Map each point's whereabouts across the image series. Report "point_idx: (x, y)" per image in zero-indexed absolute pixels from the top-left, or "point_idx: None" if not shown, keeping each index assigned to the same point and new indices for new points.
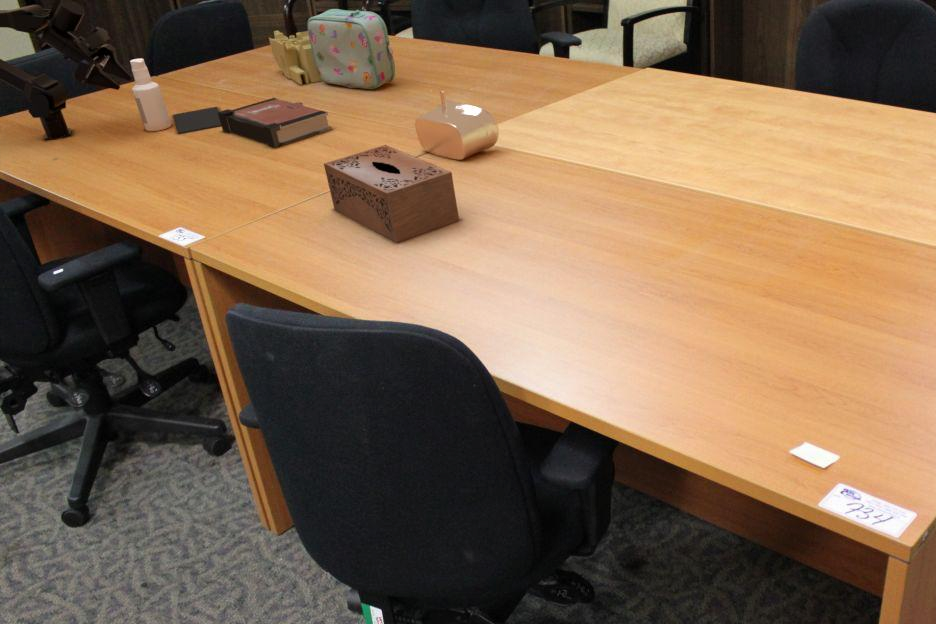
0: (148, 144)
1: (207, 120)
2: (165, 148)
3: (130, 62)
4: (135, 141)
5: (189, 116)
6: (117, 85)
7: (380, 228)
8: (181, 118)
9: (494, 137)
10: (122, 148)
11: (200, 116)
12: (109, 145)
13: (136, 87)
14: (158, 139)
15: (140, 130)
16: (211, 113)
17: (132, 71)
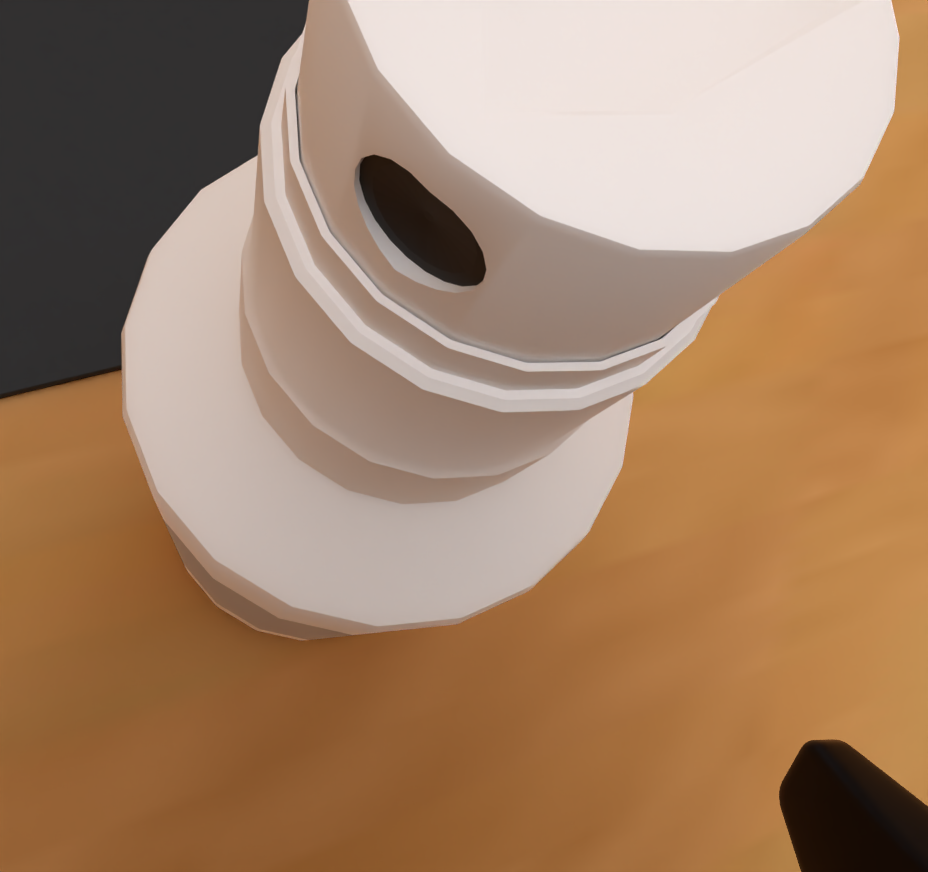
0: (812, 462)
1: (277, 36)
2: (923, 296)
3: (784, 244)
4: (708, 618)
5: (19, 224)
6: (883, 780)
7: None
8: (72, 300)
9: None
10: (876, 679)
11: (81, 110)
12: (774, 865)
13: (574, 475)
14: (698, 406)
15: (342, 694)
16: (5, 11)
17: (631, 391)
